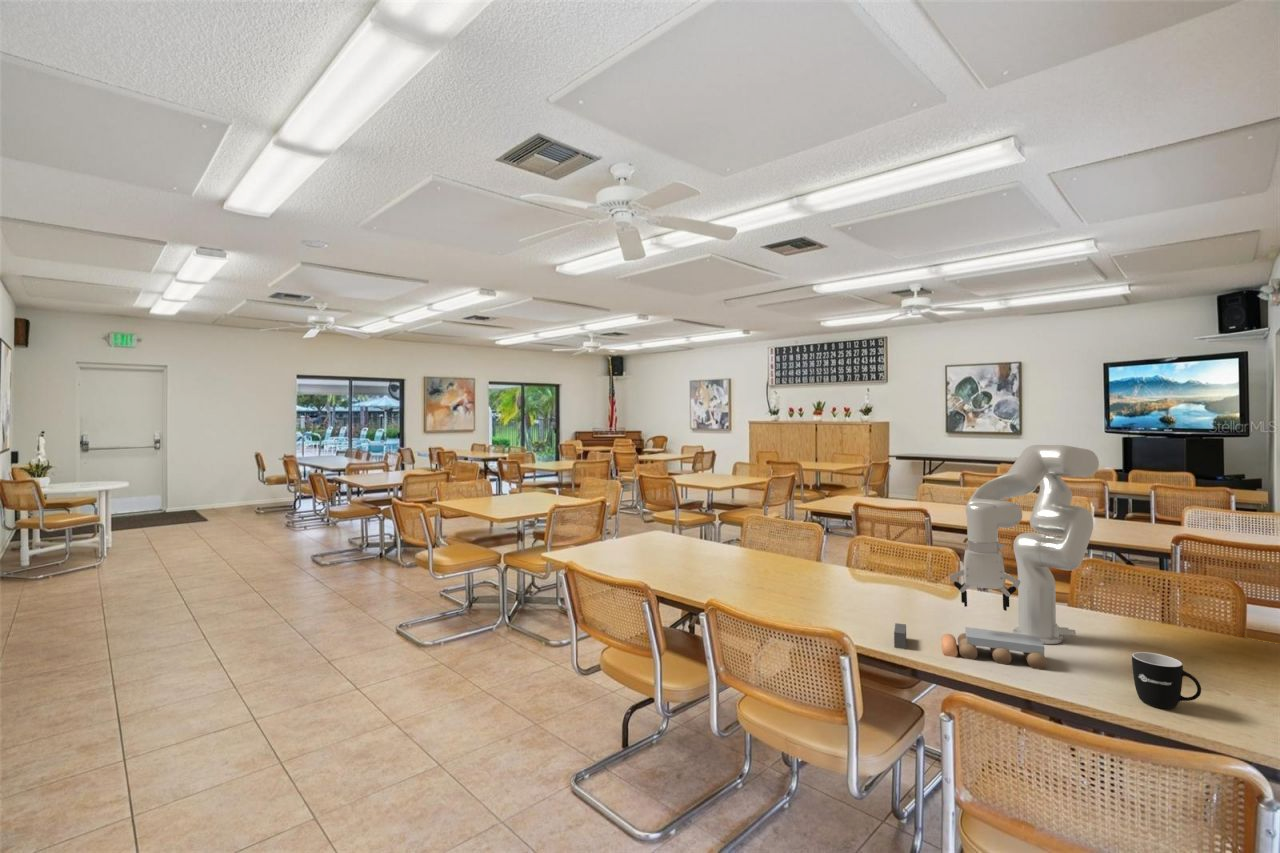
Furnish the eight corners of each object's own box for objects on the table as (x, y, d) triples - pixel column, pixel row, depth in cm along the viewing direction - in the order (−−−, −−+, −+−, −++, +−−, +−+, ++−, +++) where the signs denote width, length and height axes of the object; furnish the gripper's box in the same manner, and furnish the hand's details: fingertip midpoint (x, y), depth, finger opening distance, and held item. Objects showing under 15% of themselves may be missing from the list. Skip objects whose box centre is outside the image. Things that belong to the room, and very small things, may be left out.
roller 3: (1021, 655, 168) (1021, 640, 168) (1040, 657, 166) (1039, 642, 166) (1027, 668, 159) (1026, 651, 159) (1047, 670, 157) (1046, 654, 157)
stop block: (906, 640, 180) (906, 624, 180) (905, 650, 172) (905, 633, 172) (895, 639, 181) (895, 623, 181) (894, 649, 173) (894, 632, 173)
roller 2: (957, 647, 174) (957, 632, 175) (975, 649, 173) (974, 634, 173) (959, 659, 165) (959, 643, 166) (977, 661, 164) (977, 645, 164)
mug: (1128, 701, 139) (1128, 658, 139) (1136, 690, 145) (1135, 649, 145) (1199, 720, 130) (1198, 674, 130) (1204, 707, 136) (1203, 663, 136)
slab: (1038, 643, 165) (1038, 636, 165) (1044, 654, 157) (1044, 646, 157) (965, 634, 173) (965, 627, 173) (967, 644, 165) (967, 636, 165)
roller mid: (989, 651, 171) (988, 636, 171) (1006, 653, 169) (1006, 637, 169) (992, 663, 162) (992, 647, 162) (1011, 666, 160) (1011, 649, 160)
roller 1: (939, 634, 177) (953, 632, 175) (943, 647, 176) (957, 645, 175) (940, 645, 168) (955, 643, 166) (945, 659, 167) (959, 657, 166)
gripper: (1017, 546, 167) (1019, 606, 167) (948, 542, 175) (950, 600, 175) (1020, 551, 160) (1022, 615, 160) (948, 547, 168) (950, 607, 168)
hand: (985, 607), depth 168 cm, fingers open, 9 cm apart
